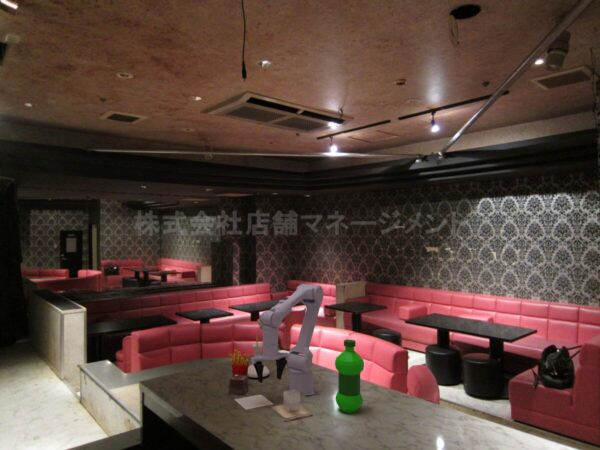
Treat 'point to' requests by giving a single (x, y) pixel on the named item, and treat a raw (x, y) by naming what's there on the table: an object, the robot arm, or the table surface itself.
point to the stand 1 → (253, 402)
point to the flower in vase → (257, 350)
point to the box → (239, 384)
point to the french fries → (239, 363)
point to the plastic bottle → (349, 378)
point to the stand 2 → (286, 414)
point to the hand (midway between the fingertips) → (269, 380)
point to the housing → (291, 400)
